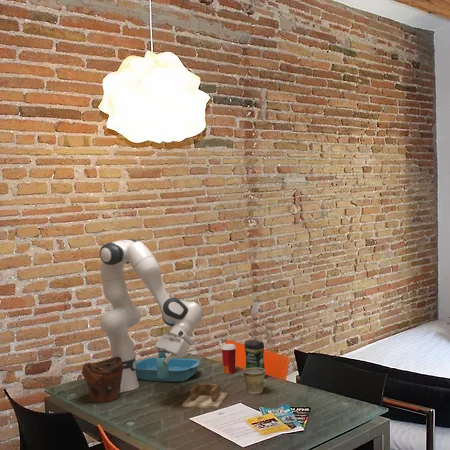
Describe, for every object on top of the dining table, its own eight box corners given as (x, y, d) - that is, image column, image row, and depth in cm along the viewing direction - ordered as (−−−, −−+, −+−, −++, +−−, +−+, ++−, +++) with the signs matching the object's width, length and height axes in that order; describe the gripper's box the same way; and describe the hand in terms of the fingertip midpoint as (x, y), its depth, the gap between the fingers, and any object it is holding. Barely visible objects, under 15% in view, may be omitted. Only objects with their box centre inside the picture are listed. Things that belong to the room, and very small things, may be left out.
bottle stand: (181, 406, 266) (181, 393, 266) (194, 393, 283) (193, 380, 283) (217, 408, 262) (216, 394, 262) (227, 394, 279) (227, 381, 279)
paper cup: (237, 370, 319) (236, 343, 318) (236, 374, 311) (235, 347, 310) (222, 370, 319) (221, 343, 319) (221, 374, 312) (219, 347, 311)
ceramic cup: (257, 396, 275) (256, 374, 274) (239, 393, 281) (238, 371, 280) (273, 388, 285) (272, 367, 285) (255, 385, 291) (254, 364, 291)
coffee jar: (242, 378, 304) (241, 341, 303) (252, 374, 310) (250, 337, 310) (259, 381, 298) (257, 343, 297) (268, 376, 304) (266, 339, 304)
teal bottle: (155, 377, 267) (154, 350, 267) (159, 374, 272) (158, 347, 272) (166, 378, 266) (165, 350, 265) (170, 374, 271) (169, 347, 270)
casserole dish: (123, 380, 310) (122, 366, 310) (144, 368, 331) (143, 355, 330) (189, 385, 297) (189, 371, 296) (207, 372, 318) (206, 359, 317)
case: (74, 402, 278) (72, 363, 277) (102, 389, 296) (101, 352, 295) (105, 407, 270) (103, 367, 269) (132, 394, 287) (131, 356, 287)
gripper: (162, 327, 281) (145, 352, 275) (186, 334, 264) (168, 361, 259) (171, 335, 283) (154, 360, 278) (195, 342, 267) (177, 369, 261)
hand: (161, 361), depth 268 cm, fingers closed on teal bottle, 5 cm apart
